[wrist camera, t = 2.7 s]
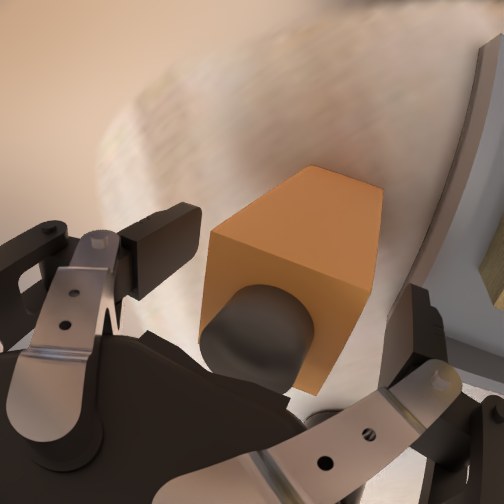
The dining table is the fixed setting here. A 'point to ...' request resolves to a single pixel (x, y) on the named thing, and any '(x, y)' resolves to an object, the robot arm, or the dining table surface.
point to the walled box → (470, 233)
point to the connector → (290, 280)
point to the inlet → (495, 268)
